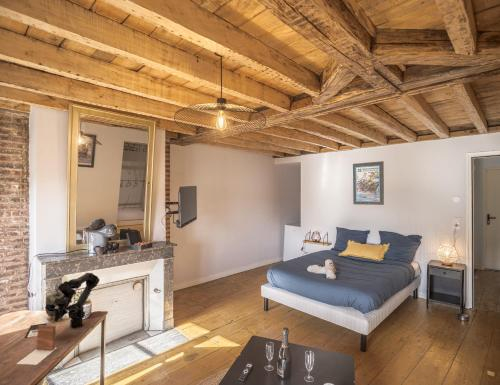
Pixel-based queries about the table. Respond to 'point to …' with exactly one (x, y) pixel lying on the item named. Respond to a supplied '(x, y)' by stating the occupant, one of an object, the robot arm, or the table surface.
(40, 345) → the walnut tile
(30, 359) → the white mat
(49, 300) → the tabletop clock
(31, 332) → the chocolate bar
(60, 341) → the table surface
